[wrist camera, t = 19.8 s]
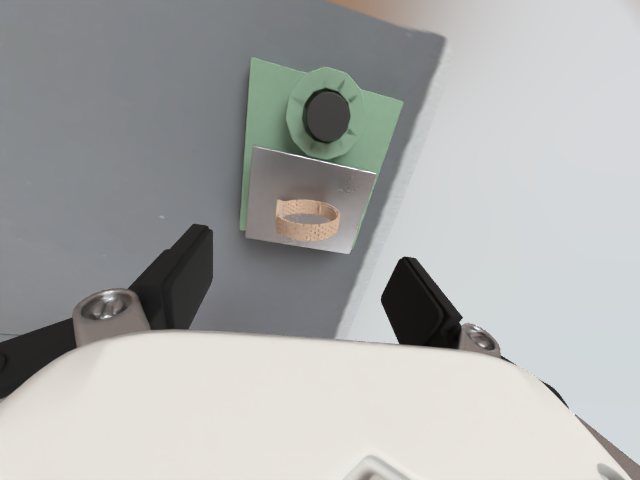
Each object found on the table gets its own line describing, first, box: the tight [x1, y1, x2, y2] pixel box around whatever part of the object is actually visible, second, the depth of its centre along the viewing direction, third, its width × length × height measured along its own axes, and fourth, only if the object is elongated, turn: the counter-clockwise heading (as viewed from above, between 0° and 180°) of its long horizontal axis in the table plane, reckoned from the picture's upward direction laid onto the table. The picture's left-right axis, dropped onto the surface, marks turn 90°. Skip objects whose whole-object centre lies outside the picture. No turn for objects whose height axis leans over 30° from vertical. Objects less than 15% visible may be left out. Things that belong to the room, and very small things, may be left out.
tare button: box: [306, 92, 349, 141], centre depth 16 cm, size 3×3×2 cm
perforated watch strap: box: [275, 200, 340, 241], centre depth 17 cm, size 3×5×5 cm, turn 85°
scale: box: [239, 57, 403, 248], centre depth 20 cm, size 14×12×3 cm
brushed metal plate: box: [245, 145, 377, 254], centre depth 20 cm, size 8×10×1 cm
